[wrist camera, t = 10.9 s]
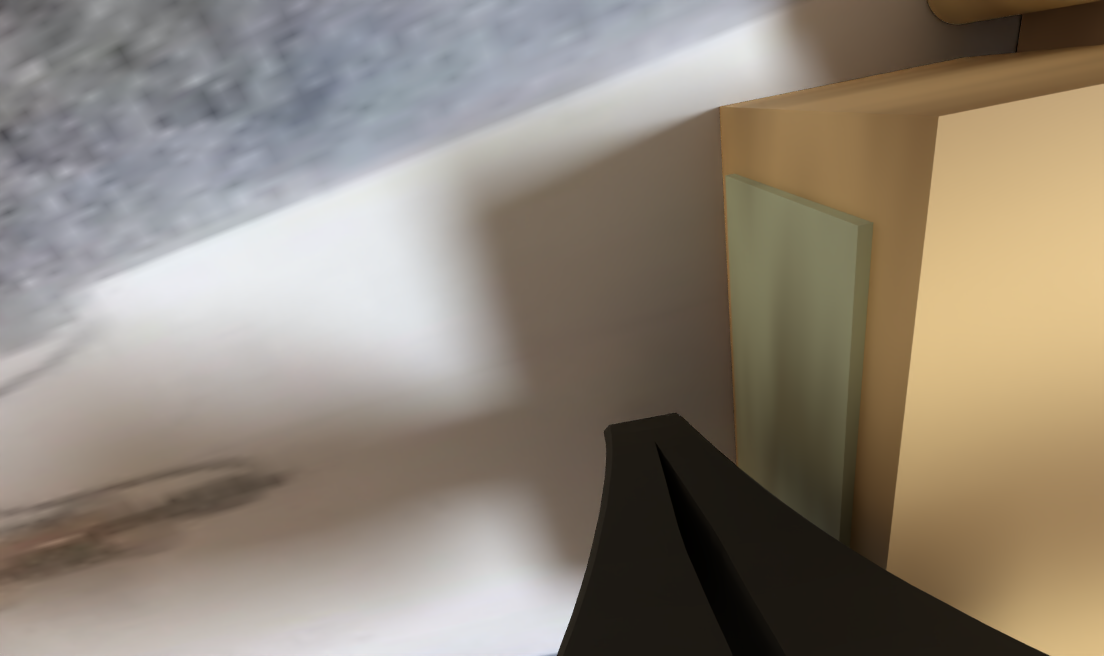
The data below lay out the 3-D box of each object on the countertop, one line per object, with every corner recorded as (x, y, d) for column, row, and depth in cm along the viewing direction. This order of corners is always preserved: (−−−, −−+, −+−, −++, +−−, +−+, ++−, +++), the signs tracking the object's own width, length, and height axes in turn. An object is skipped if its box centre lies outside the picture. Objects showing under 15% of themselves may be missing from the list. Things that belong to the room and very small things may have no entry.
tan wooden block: (900, 514, 13) (1118, 751, 8) (732, 545, 13) (850, 796, 8) (958, 57, 8) (1466, 12, 4) (707, 108, 9) (919, 121, 4)
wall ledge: (1002, 594, 14) (1150, 746, 10) (866, 619, 14) (972, 777, 11) (1253, -428, 6) (2013, -973, 3) (957, -362, 6) (1394, -819, 3)
